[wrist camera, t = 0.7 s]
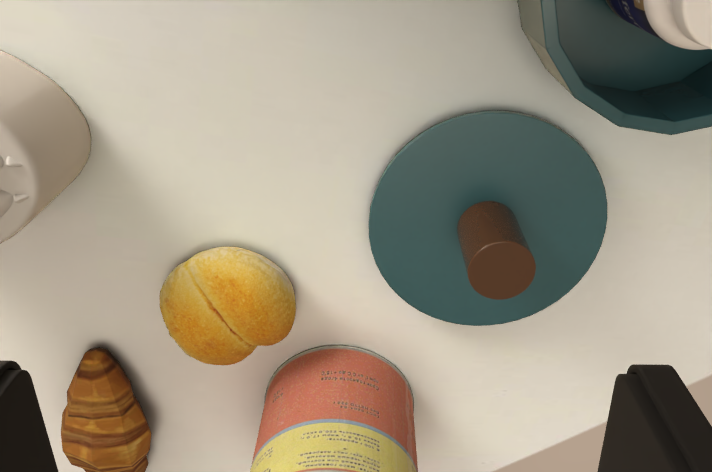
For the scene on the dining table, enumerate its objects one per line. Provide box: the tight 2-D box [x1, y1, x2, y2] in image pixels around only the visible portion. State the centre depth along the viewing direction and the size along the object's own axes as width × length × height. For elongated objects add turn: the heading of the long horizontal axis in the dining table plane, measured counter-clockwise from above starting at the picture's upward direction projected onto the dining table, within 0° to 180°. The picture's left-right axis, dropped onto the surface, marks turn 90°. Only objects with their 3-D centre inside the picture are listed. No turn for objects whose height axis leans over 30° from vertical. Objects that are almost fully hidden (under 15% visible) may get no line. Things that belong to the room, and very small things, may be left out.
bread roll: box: [160, 247, 296, 365], centre depth 44 cm, size 8×9×4 cm
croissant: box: [61, 347, 151, 472], centre depth 49 cm, size 14×7×5 cm, turn 1°
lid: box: [369, 111, 607, 326], centre depth 40 cm, size 15×15×7 cm
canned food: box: [250, 345, 418, 472], centre depth 45 cm, size 11×11×12 cm
